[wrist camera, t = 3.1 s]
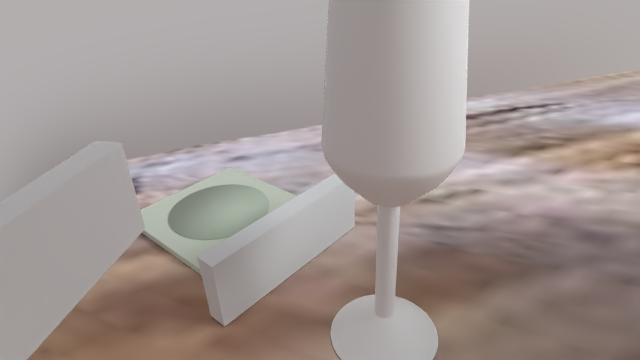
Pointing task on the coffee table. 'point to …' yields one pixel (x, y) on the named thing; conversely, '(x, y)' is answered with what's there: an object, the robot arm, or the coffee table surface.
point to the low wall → (274, 248)
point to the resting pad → (209, 213)
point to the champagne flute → (392, 144)
